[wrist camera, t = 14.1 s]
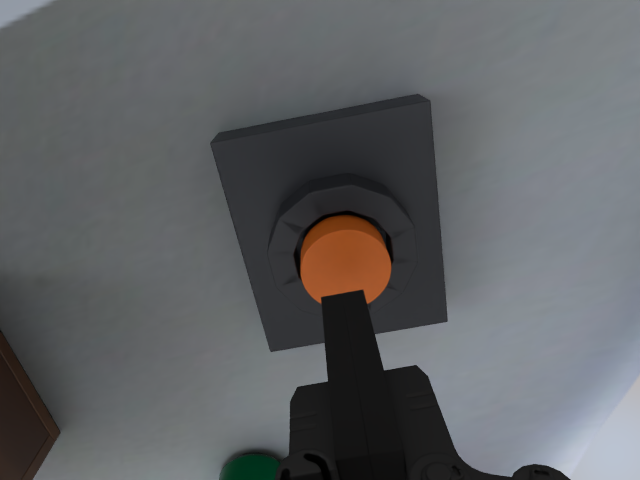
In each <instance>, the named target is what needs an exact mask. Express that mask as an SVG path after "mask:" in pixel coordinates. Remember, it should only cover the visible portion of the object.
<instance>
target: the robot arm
mask: <svg viewBox="0 0 640 480" xmlns="http://www.w3.org/2000/svg"><path fill="white" fill-rule="evenodd" d="M321 305H322V316H323V328H324V339H325V351H326V362H327V374H328V382H323V383H317V384H311V385H306V386H300V387H297V389H296V391H295V393H294V395H293V397H292V399H291V401H290V444H289V456H287V457H286V458H285V459H284V460H283V461H282V462H281V464H280V465H279V467H278V468H277V471H276V475H275V480H570V479H569V478H568V477H567V476H565V475H564V474H563V473H562V472H560V471H558V470H556V469H554V468H551V467H549V466H545V465H537V464H532V465H527V466H523V467H521V468H520V469H518V470H517V471H516V472H514V474H513V476H512V477H506V476H499V475H492V474H488V473H483V472H480V471H478V470H476V469H474V468H472V467H470V466H469V465H468V464H466V463H465V462H464V461H463V460H462V459H461V458H460V457H459V455H458V454H457V452H456V450H455V448H454V445H453V442H452V440H451V437H450V434H449V432H448V429H447V426H446V424H445V421H444V418H443V416H442V413H441V410H440V408H439V405H438V402H437V400H436V397H435V394H434V392H433V389H432V386H431V383H430V381H429V378H428V376H427V375H426V374H425V373H424V372H423V371H422V370H421V369H420V368H419V367H418V366H417V365H414V366H408V367H402V368H396V369H391V370H385V371H384V369H383V365H382V361H381V357H380V353H379V349H378V345H377V341H376V337H375V333H374V329H373V325H372V321H371V317H370V313H369V309H368V305H367V302H366V298H365V294H364V290H363V289H362V290H357V291H351V292H346V293H340V294H335V295H329V296H324V297H321Z"/></svg>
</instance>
